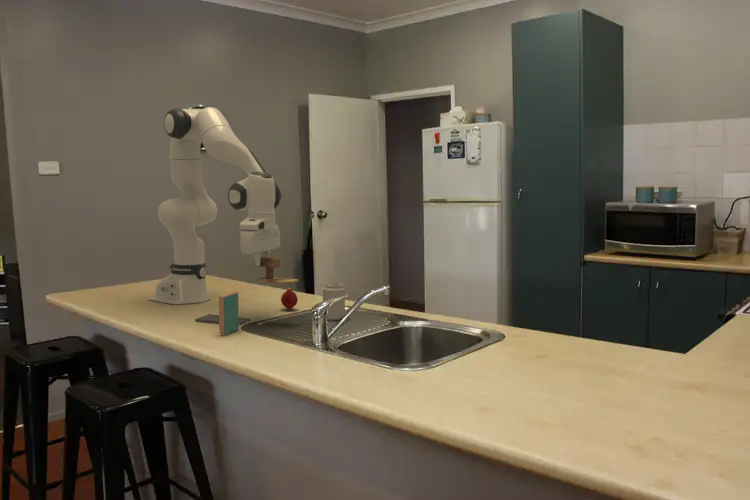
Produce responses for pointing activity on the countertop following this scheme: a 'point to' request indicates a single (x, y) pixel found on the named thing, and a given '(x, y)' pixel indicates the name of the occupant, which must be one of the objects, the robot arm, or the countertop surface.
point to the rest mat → (216, 319)
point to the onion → (289, 299)
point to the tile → (228, 313)
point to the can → (337, 307)
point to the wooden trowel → (270, 265)
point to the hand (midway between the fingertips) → (261, 264)
